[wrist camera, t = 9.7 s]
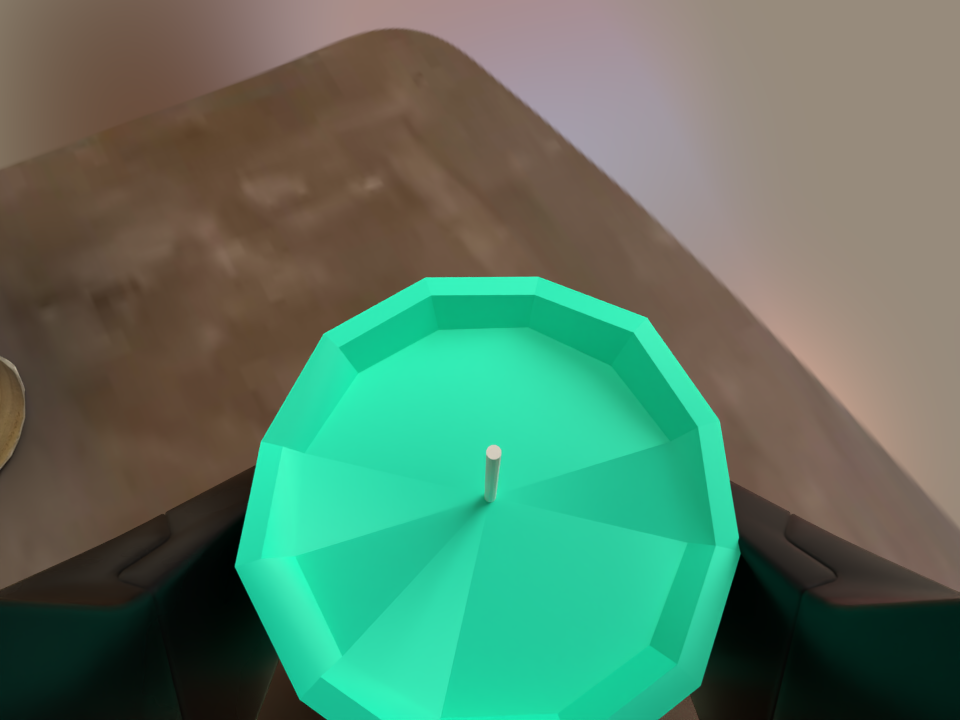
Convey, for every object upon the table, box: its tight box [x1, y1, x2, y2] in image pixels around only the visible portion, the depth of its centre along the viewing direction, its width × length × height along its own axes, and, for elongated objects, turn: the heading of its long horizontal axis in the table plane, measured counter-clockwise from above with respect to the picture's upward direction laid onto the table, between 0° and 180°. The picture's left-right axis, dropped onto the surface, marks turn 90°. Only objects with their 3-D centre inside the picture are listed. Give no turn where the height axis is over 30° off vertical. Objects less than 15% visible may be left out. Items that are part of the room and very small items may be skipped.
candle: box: [235, 277, 741, 720], centre depth 11 cm, size 6×6×12 cm
